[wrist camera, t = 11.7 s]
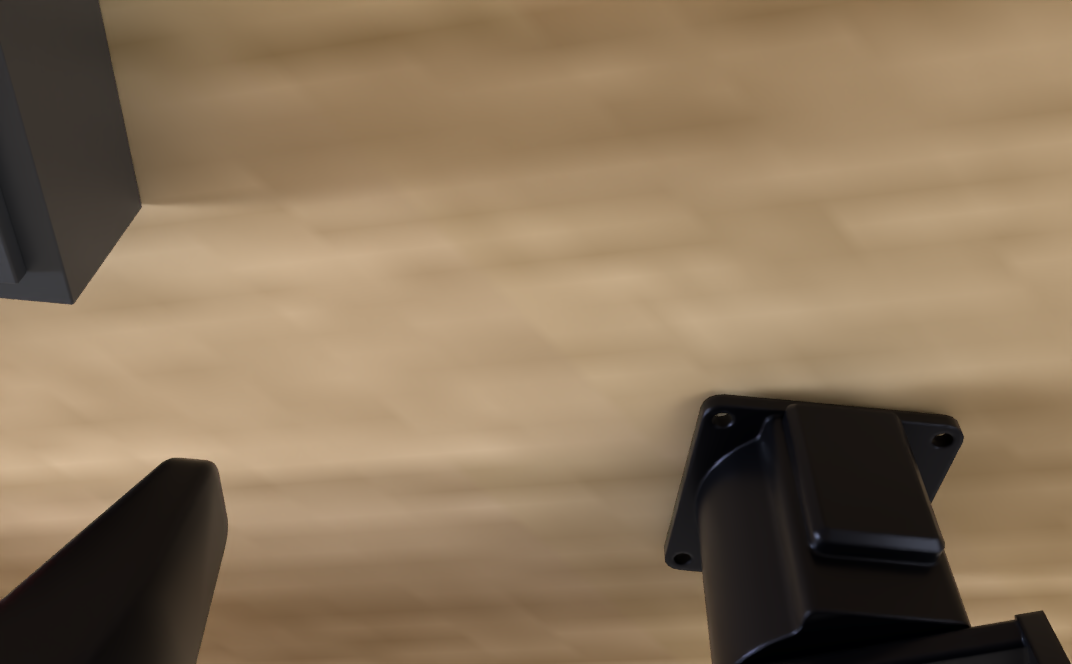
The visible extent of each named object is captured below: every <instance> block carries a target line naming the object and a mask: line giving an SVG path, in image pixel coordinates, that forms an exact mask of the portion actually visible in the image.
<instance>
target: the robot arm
mask: <svg viewBox="0 0 1072 664" xmlns="http://www.w3.org/2000/svg"><path fill="white" fill-rule="evenodd" d="M718 413H727V415H725V416H719V417H718V416H715V415H716V414H718ZM944 433H945V434H944ZM939 434H944V435H941V436H937V435H939ZM963 439H964V436H963V433H962V431H961V429H960V426H959V424H958V421H957V420H956V419H954V418H953V417H951V416H947V415H940V414H929V413H918V412H908V411H897V410H886V409H875V408H865V407H854V406H843V405H832V404H822V403H811V402H800V401H790V400H779V399H768V398H757V397H747V396H736V395H725V394H724V395H715V396H712V397H709V398H708V399H707V400H705V401H704V402H703V404H702V406H701V408H700V412H699V415H698V419H697V423H696V427H695V431H694V434H693V438H692V442H691V446H690V450H689V453H688V457H687V461H686V465H685V469H684V473H683V476H682V480H681V484H680V488H679V492H678V495H677V499H676V503H675V507H674V511H673V514H672V518H671V522H670V526H669V530H668V533H667V537H666V541H665V545H664V552H665V562H666V563H667V565H668V566H670V567H671V568H673V569H678V570H687V571H698V572H702V574H703V583H704V593H705V602H706V612H707V621H708V630H709V640H710V649H711V659H712V664H1071V663H1070V661H1069V659H1068V657H1067V655H1066V654H1065V652H1064V650H1063V648H1062V646H1061V644H1060V642H1059V640H1058V638H1057V636H1056V634H1055V633H1054V631H1053V629H1052V627H1051V625H1050V623H1049V621H1048V619H1047V617H1046V615H1045V613H1044V612H1043V611H1036V612H1030V613H1024V614H1018V615H1015V620H1010V621H1004V622H999V623H993V624H987V625H981V626H975V627H971V625H970V622H969V619H968V616H967V613H966V611H965V608H964V605H963V602H962V599H961V596H960V594H959V591H958V588H957V585H956V582H955V579H954V577H953V574H952V571H951V568H950V565H949V562H948V560H947V557H946V554H945V551H944V548H945V542H944V539H943V537H942V534H941V531H940V528H939V525H938V523H937V520H936V517H935V514H934V511H933V508H932V506H931V502H932V501H933V499H934V497H935V495H936V493H937V491H938V489H939V487H940V485H941V483H942V481H943V479H944V477H945V475H946V474H947V472H948V470H949V468H950V466H951V464H952V462H953V460H954V458H955V456H956V454H957V452H958V450H959V448H960V447H961V445H962V443H963ZM227 533H228V519H227V513H226V508H225V502H224V497H223V492H222V486H221V481H220V476H219V472H218V469H217V467H216V465H215V464H214V463H213V462H211V461H208V460H198V459H187V458H171V459H168V460H166V461H164V462H162V463H161V464H160V465H159V466H157V467H156V468H155V469H154V470H153V471H152V472H150V473H149V474H148V475H147V476H146V477H145V478H143V479H142V480H141V481H140V482H139V483H138V484H136V485H135V486H134V487H133V488H132V489H131V490H129V491H128V492H127V493H126V494H125V495H124V496H122V497H121V498H120V499H119V500H118V501H117V502H115V503H114V504H113V505H112V506H111V507H110V508H108V509H107V510H106V511H105V512H104V513H103V514H101V515H100V516H99V517H98V518H97V519H95V520H94V521H93V522H92V523H91V524H90V525H88V526H87V527H86V528H85V529H84V530H83V531H81V532H80V533H79V534H78V535H77V536H76V537H74V538H73V539H72V540H71V541H70V542H69V543H67V544H66V545H65V546H64V547H63V548H62V549H60V550H59V551H58V552H57V553H56V554H55V555H53V556H52V557H51V558H50V559H49V560H48V561H46V562H45V563H44V564H43V565H42V566H41V567H39V568H38V569H37V570H36V571H35V572H34V573H32V574H31V575H30V576H29V577H28V578H26V579H25V580H24V581H23V582H22V583H21V584H19V585H18V586H17V587H16V588H15V589H14V590H12V591H11V592H10V593H9V594H8V595H7V596H5V597H4V598H3V599H2V600H1V601H0V664H196V662H197V658H198V654H199V650H200V646H201V642H202V638H203V634H204V630H205V626H206V622H207V618H208V614H209V610H210V606H211V602H212V598H213V594H214V590H215V586H216V582H217V578H218V574H219V570H220V565H221V561H222V557H223V553H224V549H225V545H226V540H227Z"/></svg>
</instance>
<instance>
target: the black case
mask: <svg viewBox="0 0 1072 664" xmlns="http://www.w3.org/2000/svg"><path fill="white" fill-rule="evenodd" d="M141 207H142V206H141V201H140V196H139V191H138V186H137V182H136V177H135V172H134V167H133V163H132V158H131V153H130V148H129V144H128V139H127V134H126V129H125V124H124V120H123V115H122V110H121V105H120V101H119V96H118V91H117V86H116V81H115V77H114V72H113V67H112V62H111V58H110V53H109V48H108V43H107V39H106V34H105V29H104V24H103V19H102V15H101V10H100V5H99V0H0V298H7V299H18V300H28V301H39V302H50V303H61V304H71V305H72V304H74V303H75V302H76V300H77V299H78V297H79V296H80V294H81V293H82V292H83V290H84V289H85V287H86V286H87V284H88V283H89V282H90V280H91V279H92V277H93V276H94V275H95V273H96V272H97V270H98V269H99V267H100V266H101V265H102V263H103V262H104V260H105V259H106V257H107V256H108V255H109V253H110V252H111V250H112V249H113V247H114V246H115V245H116V243H117V242H118V240H119V239H120V237H121V236H122V235H123V233H124V232H125V230H126V229H127V227H128V226H129V225H130V223H131V222H132V220H133V219H134V217H135V216H136V215H137V213H138V212H139V210H140V209H141Z"/></svg>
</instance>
